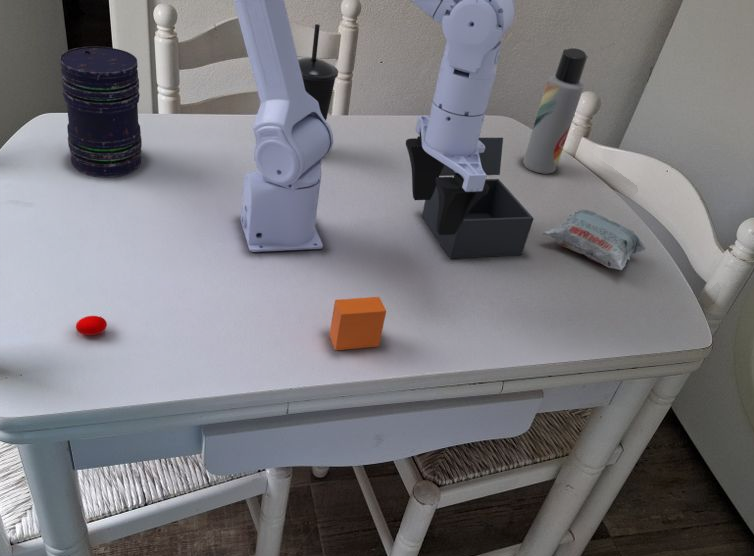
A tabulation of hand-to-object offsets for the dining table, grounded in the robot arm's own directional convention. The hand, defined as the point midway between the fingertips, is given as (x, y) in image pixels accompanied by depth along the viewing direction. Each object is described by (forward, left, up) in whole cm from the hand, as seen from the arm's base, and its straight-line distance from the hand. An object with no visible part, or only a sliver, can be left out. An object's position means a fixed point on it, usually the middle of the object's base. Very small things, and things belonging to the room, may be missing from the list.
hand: (433, 215), depth 83 cm
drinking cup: (-6, +36, -10) cm, 38 cm away
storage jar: (-36, +33, -10) cm, 50 cm away
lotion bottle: (+34, +30, -10) cm, 46 cm away
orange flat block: (-11, -10, -10) cm, 18 cm away
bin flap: (+12, +16, -1) cm, 20 cm away
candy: (-38, -5, -10) cm, 40 cm away
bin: (+12, +10, -10) cm, 18 cm away
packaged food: (+28, +4, -10) cm, 30 cm away
